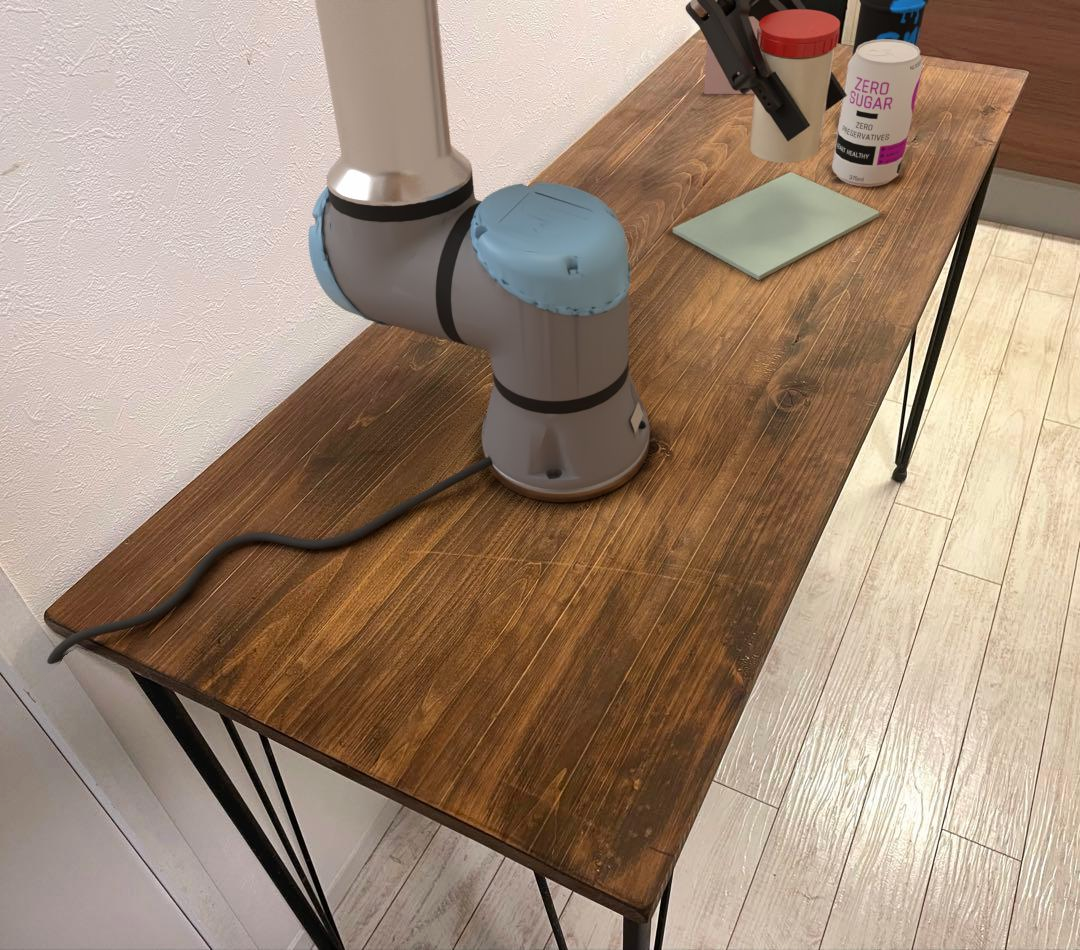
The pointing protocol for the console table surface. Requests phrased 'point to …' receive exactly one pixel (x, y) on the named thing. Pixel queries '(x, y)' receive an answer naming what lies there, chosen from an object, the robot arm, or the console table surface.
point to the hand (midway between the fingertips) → (817, 118)
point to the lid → (798, 33)
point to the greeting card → (721, 71)
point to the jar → (809, 93)
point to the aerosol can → (889, 20)
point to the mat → (775, 224)
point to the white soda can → (876, 112)
